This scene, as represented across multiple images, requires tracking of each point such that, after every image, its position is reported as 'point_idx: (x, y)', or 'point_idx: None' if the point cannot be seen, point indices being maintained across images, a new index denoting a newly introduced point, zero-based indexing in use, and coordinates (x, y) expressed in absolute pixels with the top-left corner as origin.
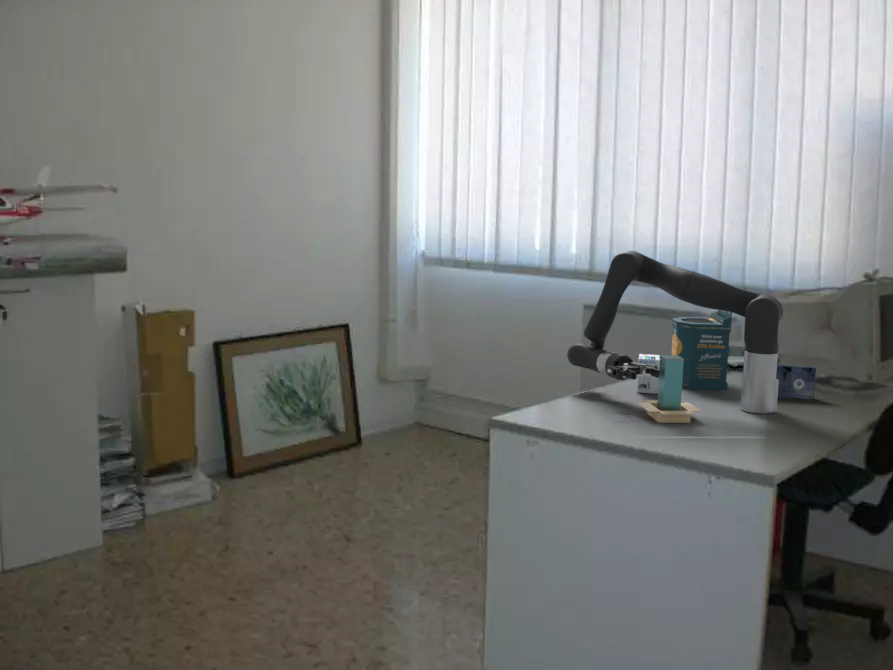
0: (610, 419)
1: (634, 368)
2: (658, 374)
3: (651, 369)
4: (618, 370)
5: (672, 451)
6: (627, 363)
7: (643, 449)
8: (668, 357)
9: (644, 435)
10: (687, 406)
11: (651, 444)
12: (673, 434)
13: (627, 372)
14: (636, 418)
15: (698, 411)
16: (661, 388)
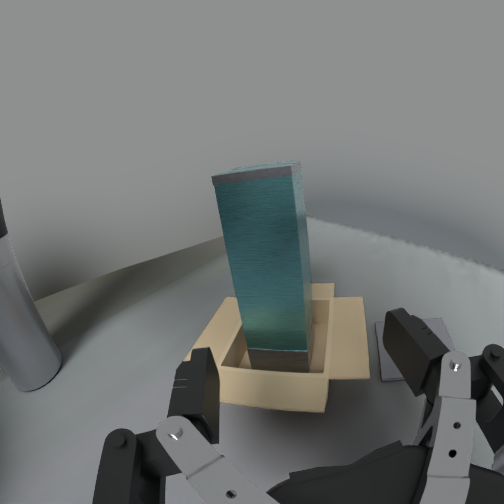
0: (447, 333)
1: (352, 464)
2: (215, 366)
3: (204, 417)
4: (491, 350)
5: (360, 235)
6: (425, 500)
7: (393, 237)
8: (278, 163)
9: (384, 270)
10: (223, 329)
11: (381, 247)
12: (332, 275)
13: (436, 336)
14: (381, 347)
15: (233, 297)
16: (308, 275)
